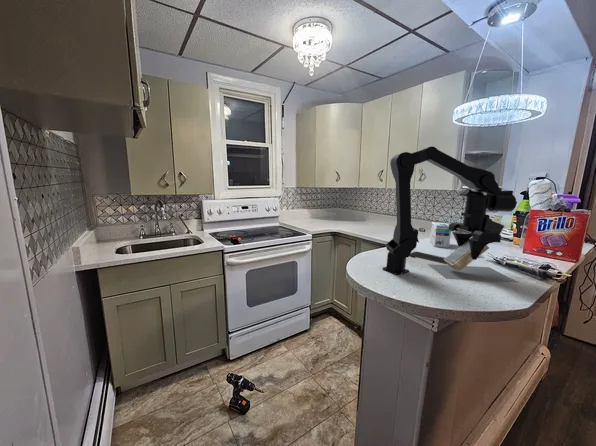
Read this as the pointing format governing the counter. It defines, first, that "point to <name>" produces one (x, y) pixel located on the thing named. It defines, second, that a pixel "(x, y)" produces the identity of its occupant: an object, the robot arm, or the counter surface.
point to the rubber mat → (471, 273)
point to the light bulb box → (440, 235)
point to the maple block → (461, 256)
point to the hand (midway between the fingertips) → (468, 256)
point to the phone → (428, 257)
